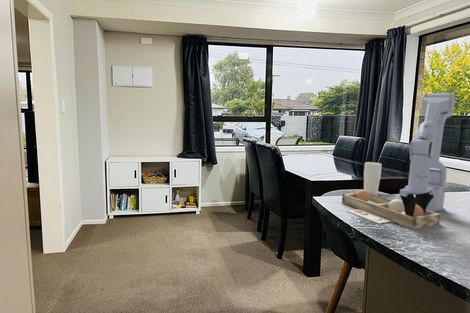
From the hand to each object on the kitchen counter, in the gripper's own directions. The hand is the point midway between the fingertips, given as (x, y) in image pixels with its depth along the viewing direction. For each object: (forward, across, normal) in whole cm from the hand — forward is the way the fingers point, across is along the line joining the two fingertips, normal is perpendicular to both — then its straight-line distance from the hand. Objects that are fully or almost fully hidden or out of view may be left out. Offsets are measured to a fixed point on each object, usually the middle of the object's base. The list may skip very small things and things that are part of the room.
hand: (414, 215), depth 108 cm
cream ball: (-1, 0, -7) cm, 7 cm away
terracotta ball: (-1, 0, 0) cm, 1 cm away
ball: (-1, 0, -22) cm, 22 cm away
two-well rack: (+2, 0, -11) cm, 11 cm away
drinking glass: (+3, -12, -29) cm, 31 cm away
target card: (+2, +10, -10) cm, 14 cm away
